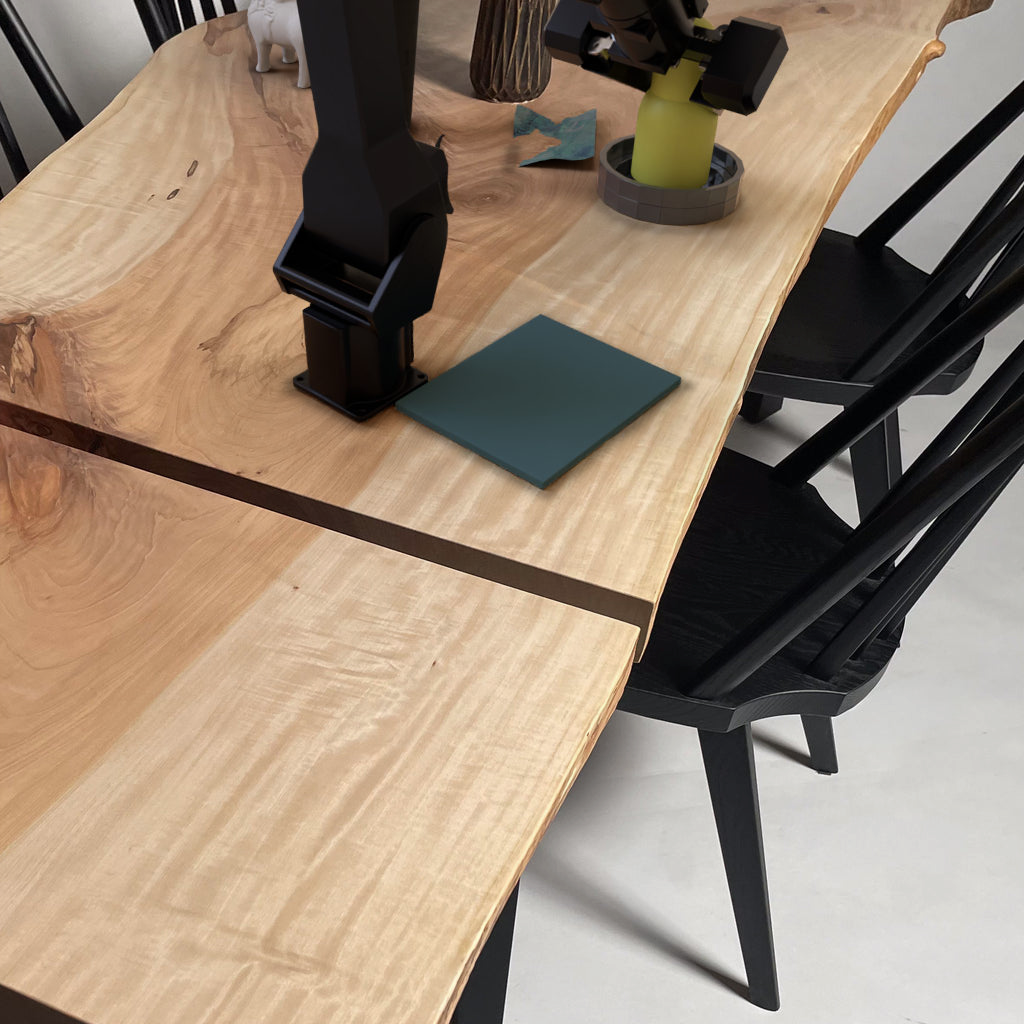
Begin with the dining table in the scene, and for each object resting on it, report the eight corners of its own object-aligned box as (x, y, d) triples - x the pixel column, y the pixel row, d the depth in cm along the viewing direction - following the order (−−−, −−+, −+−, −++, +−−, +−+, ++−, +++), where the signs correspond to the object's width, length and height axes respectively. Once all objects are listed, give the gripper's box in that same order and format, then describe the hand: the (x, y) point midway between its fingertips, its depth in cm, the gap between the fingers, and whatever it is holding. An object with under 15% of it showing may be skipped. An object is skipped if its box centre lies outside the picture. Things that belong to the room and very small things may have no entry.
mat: (542, 490, 65) (543, 482, 64) (394, 409, 70) (394, 402, 70) (680, 384, 74) (682, 377, 73) (540, 320, 79) (540, 313, 79)
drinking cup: (332, 138, 102) (316, -103, 89) (360, 109, 108) (349, -121, 95) (411, 149, 101) (406, -93, 88) (435, 119, 107) (434, -113, 94)
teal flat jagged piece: (593, 176, 98) (594, 155, 97) (506, 173, 98) (506, 153, 97) (596, 122, 108) (596, 103, 106) (516, 120, 108) (516, 101, 107)
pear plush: (681, 199, 90) (709, 16, 81) (615, 175, 94) (635, -4, 84) (722, 175, 94) (753, -2, 85) (658, 153, 98) (681, -20, 88)
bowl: (688, 246, 89) (694, 205, 87) (567, 199, 95) (571, 160, 92) (762, 199, 96) (770, 160, 94) (647, 158, 102) (651, 121, 100)
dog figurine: (266, 50, 120) (255, -57, 113) (349, 79, 114) (343, -33, 107) (227, 61, 117) (214, -48, 110) (311, 92, 111) (302, -22, 104)
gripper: (806, -97, 73) (838, 39, 87) (575, -142, 81) (638, -12, 95) (727, 54, 73) (771, 165, 87) (505, -6, 81) (578, 104, 95)
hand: (688, 100), depth 91 cm, fingers closed on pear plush, 6 cm apart
